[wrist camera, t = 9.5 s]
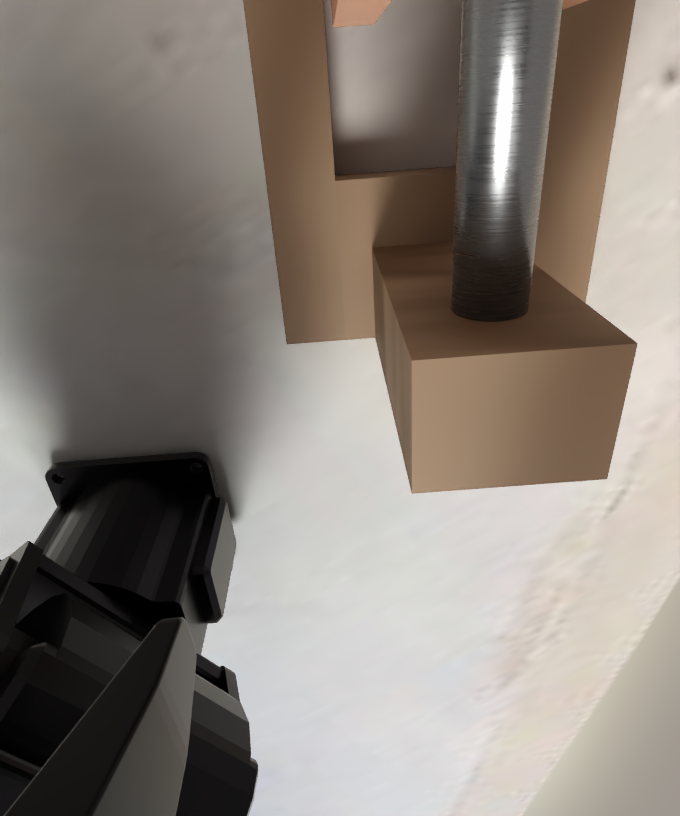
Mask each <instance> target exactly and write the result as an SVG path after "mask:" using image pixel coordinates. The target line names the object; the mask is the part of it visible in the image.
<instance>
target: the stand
mask: <svg viewBox="0 0 680 816" xmlns="http://www.w3.org/2000/svg"><path fill="white" fill-rule="evenodd" d="M243 2H244V10H245V17H246V25H247V33H248V41H249V49H250V57H251V65H252V73H253V81H254V89H255V97H256V104H257V112H258V120H259V128H260V136H261V144H262V152H263V160H264V168H265V176H266V183H267V191H268V199H269V207H270V215H271V223H272V231H273V239H274V247H275V255H276V262H277V270H278V278H279V286H280V294H281V302H282V310H283V318H284V326H285V334H286V342H287V344H296V343H309V342H322V341H335V340H348V339H362V338H376V343H377V347H378V351H379V355H380V360H381V364H382V368H383V372H384V377H385V381H386V385H387V389H388V394H389V398H390V402H391V407H392V411H393V415H394V419H395V424H396V428H397V432H398V436H399V441H400V445H401V449H402V453H403V458H404V462H405V466H406V470H407V475H408V479H409V483H410V488H411V492H412V493H426V492H439V491H452V490H466V489H479V488H492V487H506V486H519V485H532V484H546V483H559V482H573V481H586V480H599V479H607V477H608V472H609V468H610V463H611V459H612V455H613V450H614V446H615V441H616V437H617V432H618V428H619V423H620V419H621V414H622V410H623V406H624V401H625V397H626V392H627V388H628V383H629V379H630V374H631V370H632V366H633V361H634V357H635V352H636V348H637V343H636V342H635V341H634V340H632V339H631V338H630V337H628V336H627V335H626V334H625V333H623V332H622V331H621V330H619V329H618V328H617V327H615V326H614V325H613V324H612V323H610V322H609V321H608V320H606V319H605V318H604V317H603V316H601V315H600V314H599V313H597V312H596V311H595V310H593V309H592V308H591V307H590V306H588V305H587V304H586V303H585V302H586V296H587V290H588V284H589V278H590V272H591V266H592V260H593V254H594V248H595V242H596V236H597V230H598V224H599V218H600V212H601V205H602V199H603V193H604V187H605V181H606V175H607V169H608V163H609V157H610V151H611V145H612V139H613V133H614V127H615V121H616V115H617V109H618V103H619V97H620V91H621V85H622V79H623V73H624V67H625V61H626V55H627V49H628V43H629V37H630V31H631V25H632V19H633V12H634V6H635V0H588V1H585V2H583V3H580V4H577V5H574V6H571V7H569V8H566V9H563V10H562V5H563V0H462V18H461V46H460V73H459V100H458V128H457V155H456V166H453V167H440V168H427V169H415V170H402V171H389V172H376V173H363V174H350V175H337V176H335V171H334V156H333V142H332V127H331V112H330V97H329V82H328V67H327V52H326V37H325V22H324V8H323V0H243Z"/></svg>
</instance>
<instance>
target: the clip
mask: <svg viewBox="0 0 680 816" xmlns="http://www.w3.org/2000/svg"><path fill="white" fill-rule="evenodd" d="M391 1H392V0H331V6H332V22H333V27H345V26H358V25H371V24H374V23H375V22H376V21H377V19H378V18H379V17H380V15H381V14H382V13H383V11H384V10H385V9H386V7H387V6H388V5H389V3H390V2H391ZM585 1H588V0H563V5H562V10H563V9H566V8H569V7H571V6H574V5H577V4H580V3H583V2H585Z"/></svg>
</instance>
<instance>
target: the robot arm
mask: <svg viewBox="0 0 680 816" xmlns="http://www.w3.org/2000/svg"><path fill="white" fill-rule="evenodd" d="M194 463H198V464H200V465H201V466H202V467H200V468H198V467H195V466H193V464H194ZM57 474H61V475H63V476H64V478H62V477H60V476H58V475H57ZM45 477H46V481H47V483H48V486H49V488H50V491H51V493H52V495H53V498H54V500H55V502H56V505H57V508H56V510H55V511H54V513H53V515H52V516H51V518H50V519H49V521H48V522H47V524H46V526H45V527H44V529H43V530H42V532H41V533H40V535H39V536H38V538H37V540H36V541H35V543H34V544H33V543H31V542H30V541H27V542H26V543H25V544H23V545H22V546H21V547H20V548H19V549H17V550H16V551H15V552H14V553H13V554H11V555H10V556H8V557H6V558H5V559H3V560H0V816H248V815H249V812H250V809H251V806H252V803H253V799H254V794H255V788H256V782H257V777H258V764H257V762H256V760H254V759H252V758H251V747H250V731H249V722H248V719H247V717H246V715H245V712H244V710H243V707H242V705H241V703H240V699H239V693H238V687H237V681H236V675H235V673H234V672H232V671H231V670H229V669H228V668H226V667H224V666H221V667H219V666H217V665H216V664H214V663H213V662H211V661H209V660H208V659H206V658H205V657H203V656H202V655H201V652H202V647H203V642H204V638H205V633H206V628H207V624H208V623H217V622H218V621H219V620H220V619H221V618H222V617H223V613H224V608H225V602H226V597H227V591H228V586H229V580H230V575H231V571H232V567H233V559H234V553H235V548H236V540H235V535H234V531H233V526H232V522H231V517H230V513H229V508H228V504H227V501H226V500H225V499H224V498H223V497H219V496H218V492H217V487H216V483H215V478H214V474H213V470H212V465H211V461H210V459H209V458H208V457H207V456H206V455H205V454H203V453H198V452H193V453H180V454H167V455H153V456H140V457H127V458H114V459H100V460H87V461H74V462H60V463H55V464H53V465H52V466H51V467H50V468H49V470H48V471H47V472H46V475H45Z"/></svg>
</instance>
